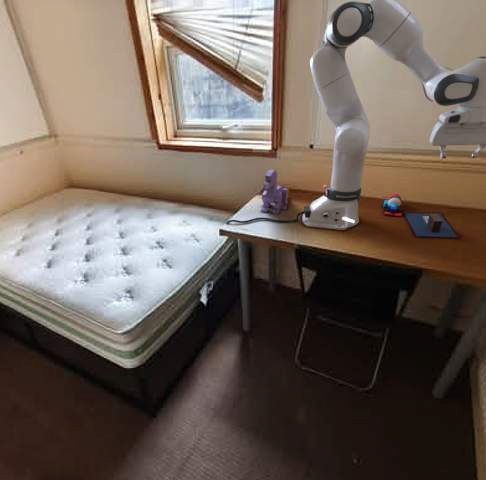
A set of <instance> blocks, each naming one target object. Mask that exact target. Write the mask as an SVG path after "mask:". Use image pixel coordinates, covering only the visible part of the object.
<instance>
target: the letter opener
mask: <svg viewBox="0 0 486 480" xmlns="http://www.w3.org/2000/svg"><path fill="white" fill-rule="evenodd" d="M429 214H430V216H423V219H424V220H425V222H426V224H427V226H428V228H429V230H430V231H431V232H439V231H440V228H441V225H442V222H443V221H442V219H441V218H440V217H439V215H438V214H439V213H429Z"/></svg>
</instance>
